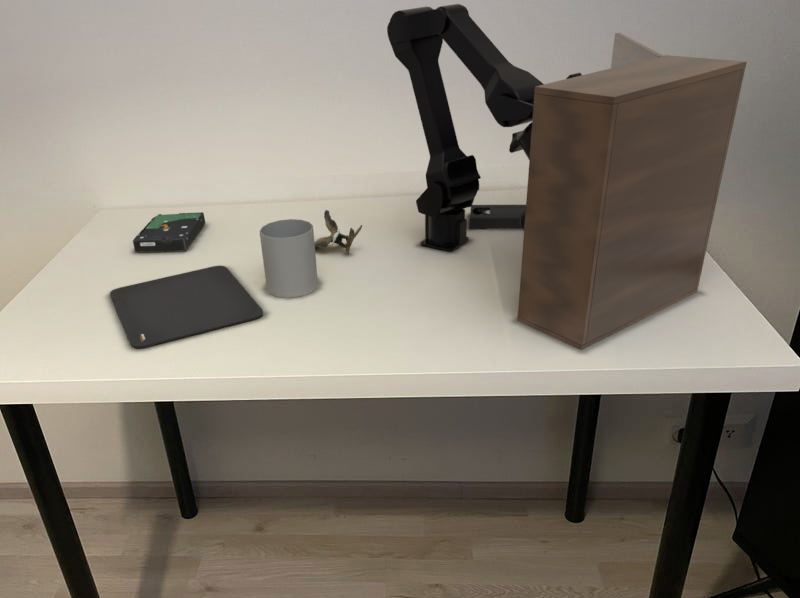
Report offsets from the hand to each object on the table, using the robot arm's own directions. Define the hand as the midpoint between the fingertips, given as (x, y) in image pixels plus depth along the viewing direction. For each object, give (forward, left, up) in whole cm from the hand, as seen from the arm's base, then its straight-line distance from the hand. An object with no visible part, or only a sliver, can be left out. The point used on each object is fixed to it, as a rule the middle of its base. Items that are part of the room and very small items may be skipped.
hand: (609, 252), depth 99 cm
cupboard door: (-6, +26, -8) cm, 28 cm away
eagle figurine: (-48, -2, -8) cm, 49 cm away
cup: (-44, -18, -8) cm, 48 cm away
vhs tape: (-27, +25, -8) cm, 37 cm away
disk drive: (-80, -13, -8) cm, 81 cm away
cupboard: (+1, 0, -8) cm, 8 cm away
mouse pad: (-55, -32, -8) cm, 64 cm away
